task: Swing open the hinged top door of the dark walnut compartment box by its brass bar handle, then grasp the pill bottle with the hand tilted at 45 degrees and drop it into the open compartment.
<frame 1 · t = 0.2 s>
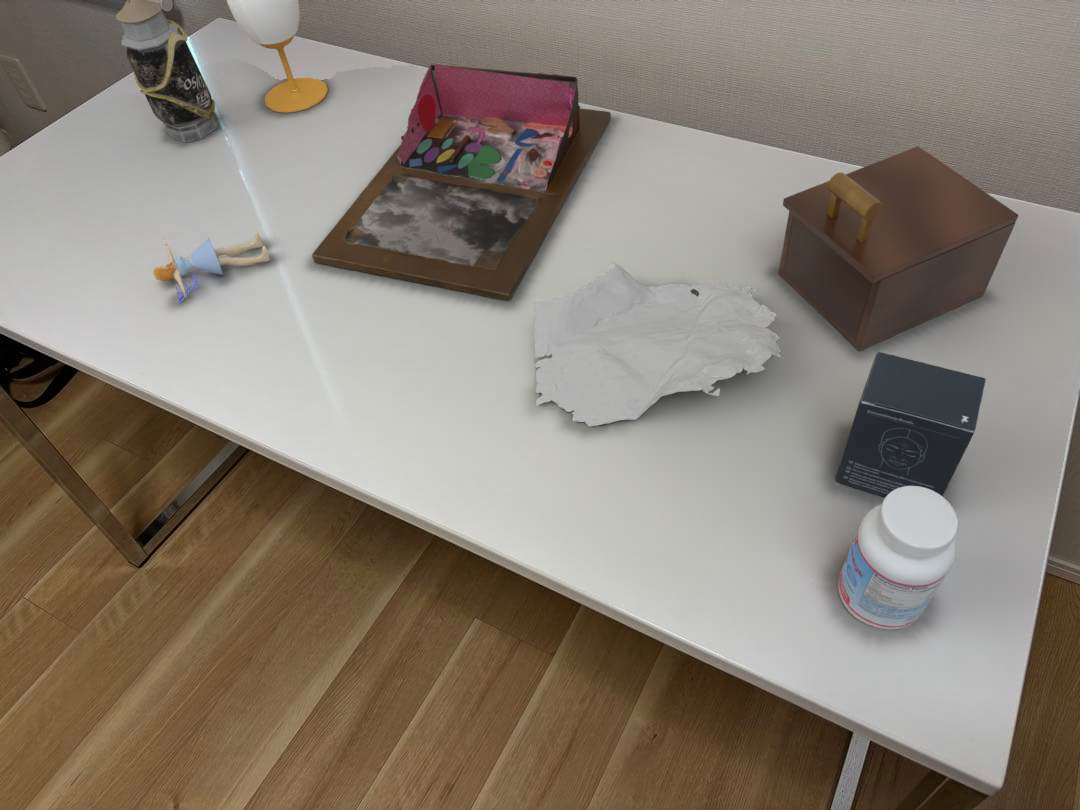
fairy figurine: (217, 274, 92), on the table
pill bottle: (878, 595, 60), on the table
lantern: (194, 130, 112), on the table
chest: (877, 284, 81), on the table
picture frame: (473, 188, 98), on the table
paper: (646, 349, 78), on the table
box: (889, 473, 67), on the table
chest lid: (902, 190, 72), point 11 cm above the table, hinge at 0.0°
cup: (297, 97, 116), on the table
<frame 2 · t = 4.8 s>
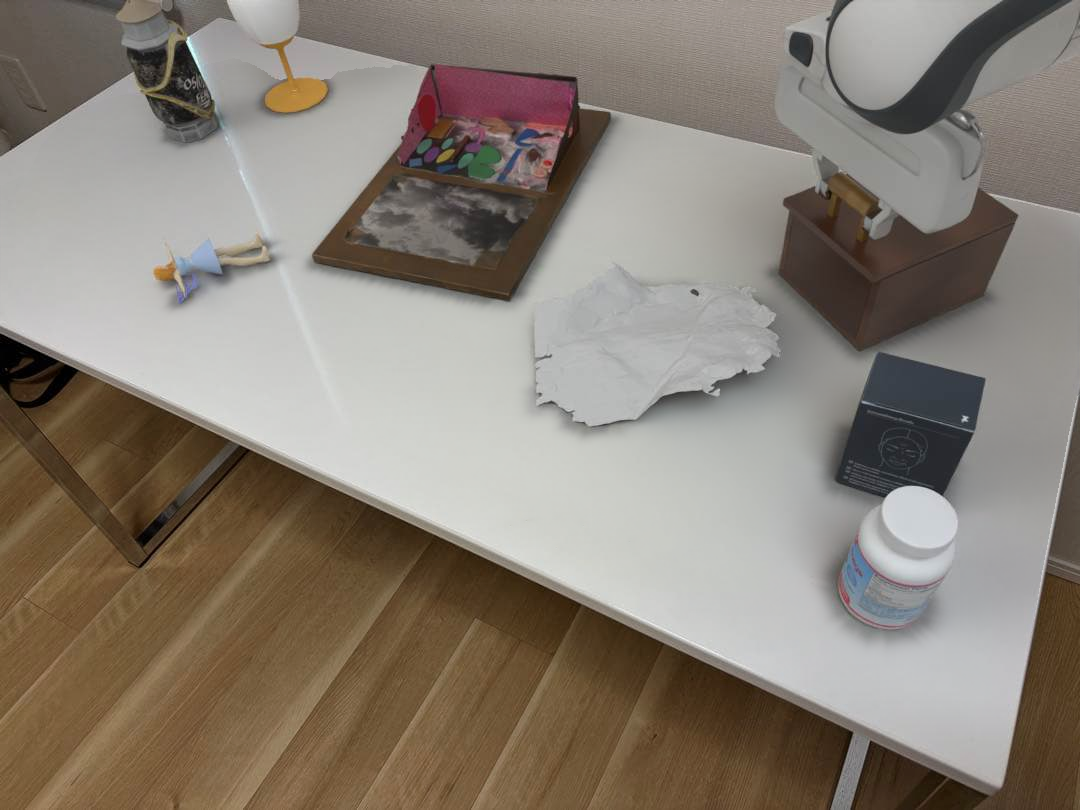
hand: (850, 213, 71), 11 cm above the table, tool pointing down, fingers closed on chest lid, 5 cm apart
chest lid: (902, 190, 72), point 11 cm above the table, hinge at 0.1°, touching gripper
everything else where it was.
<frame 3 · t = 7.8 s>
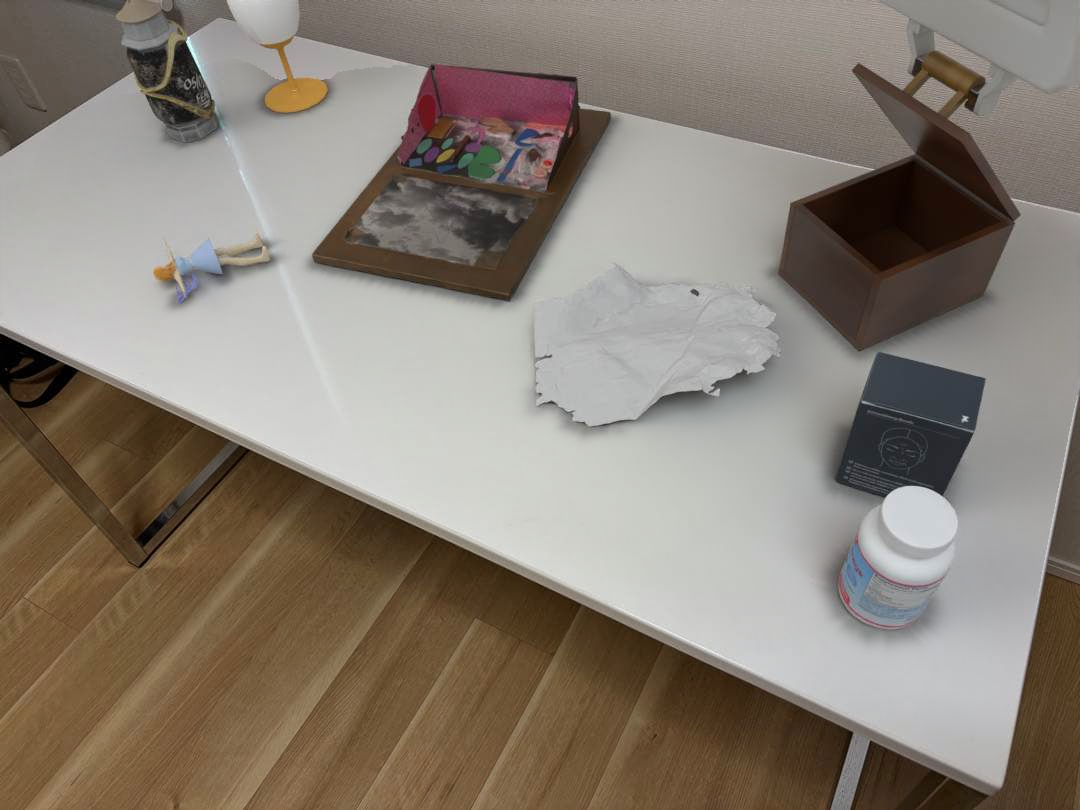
hand: (948, 92, 66), 20 cm above the table, tool pointing down, fingers closed on chest lid, 5 cm apart
chest lid: (957, 124, 69), point 16 cm above the table, hinge at 48.7°, touching gripper
everything else where it was.
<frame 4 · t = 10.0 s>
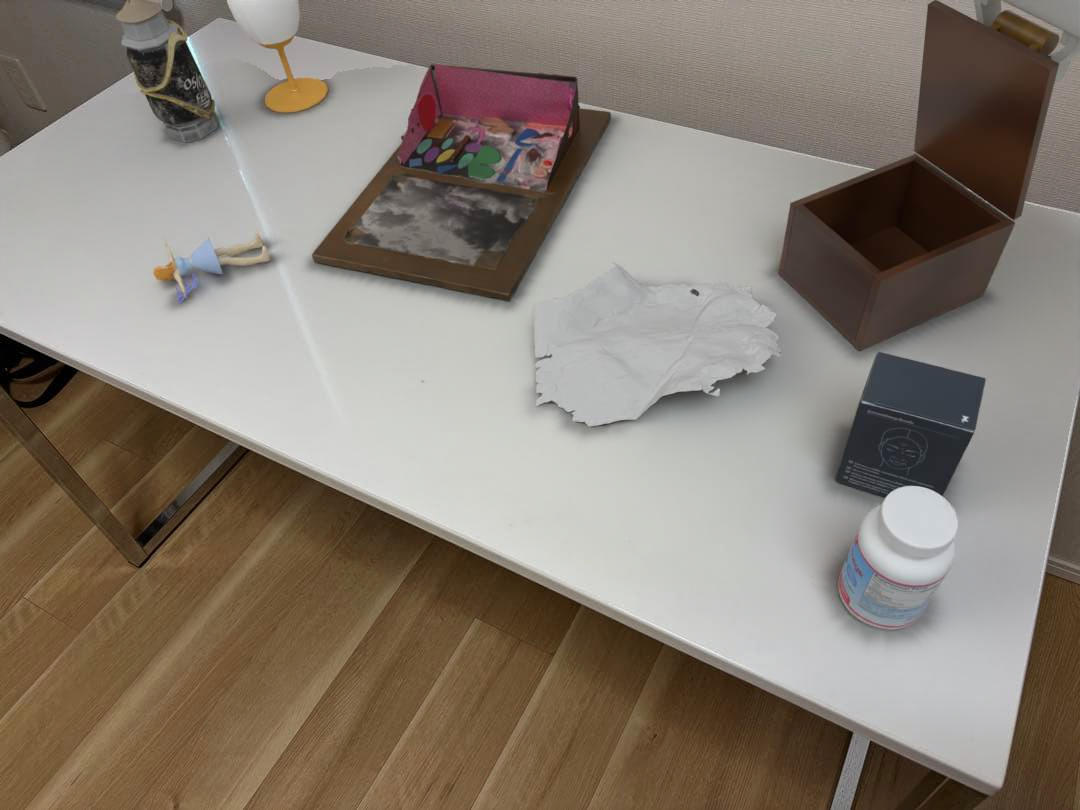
hand: (1015, 62, 67), 20 cm above the table, tool pointing down, fingers closed on chest lid, 5 cm apart
chest lid: (997, 101, 69), point 17 cm above the table, hinge at 77.2°, touching gripper
everything else where it was.
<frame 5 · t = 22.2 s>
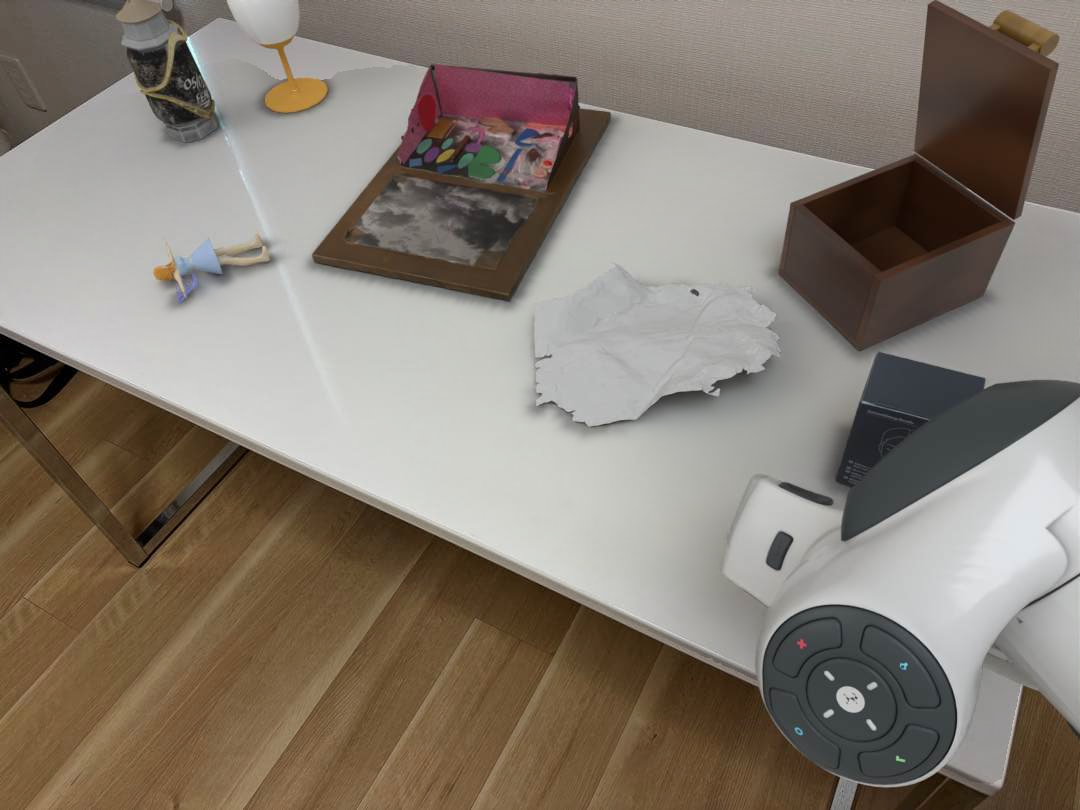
hand: (902, 548, 56), 6 cm above the table, tool tilted 45°, fingers closed on pill bottle, 6 cm apart
pill bottle: (878, 595, 60), on the table, touching gripper
chest lid: (996, 101, 69), point 17 cm above the table, hinge at 77.2°
everything else where it was.
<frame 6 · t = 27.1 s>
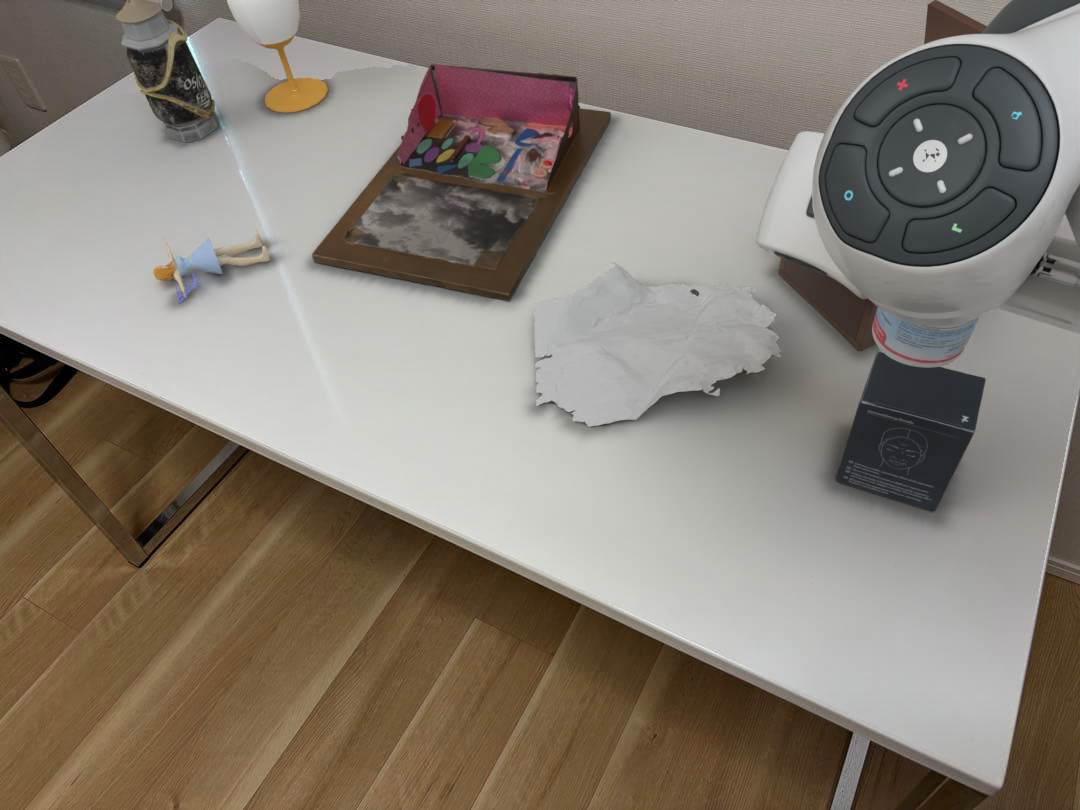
hand: (943, 268, 52), 21 cm above the table, tool tilted 45°, fingers closed on pill bottle, 6 cm apart
pill bottle: (915, 341, 57), point 14 cm above the table, touching gripper
everything else where it was.
when the fingers open (15 cm above the table, at t = 32.0 s): pill bottle drops 8 cm, resting on chest.
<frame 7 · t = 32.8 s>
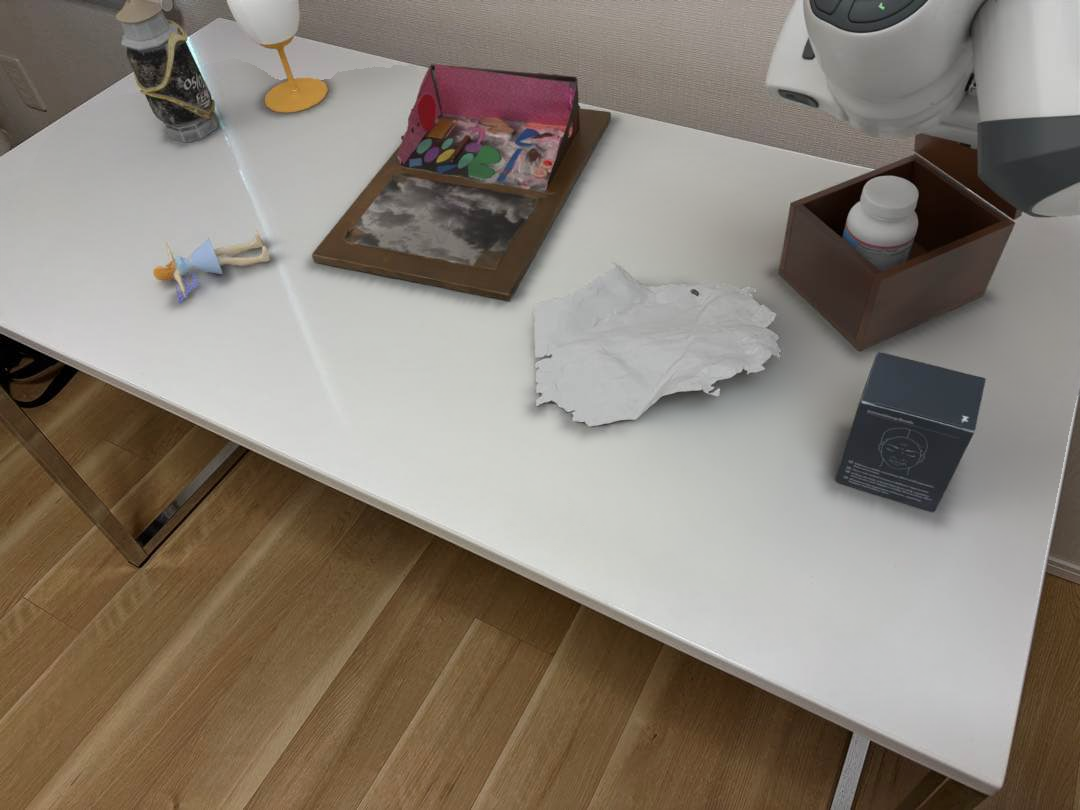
hand: (912, 123, 66), 18 cm above the table, tool tilted 45°, fingers open, 8 cm apart
pill bottle: (863, 287, 80), point 1 cm above the table, touching chest
everything else where it was.
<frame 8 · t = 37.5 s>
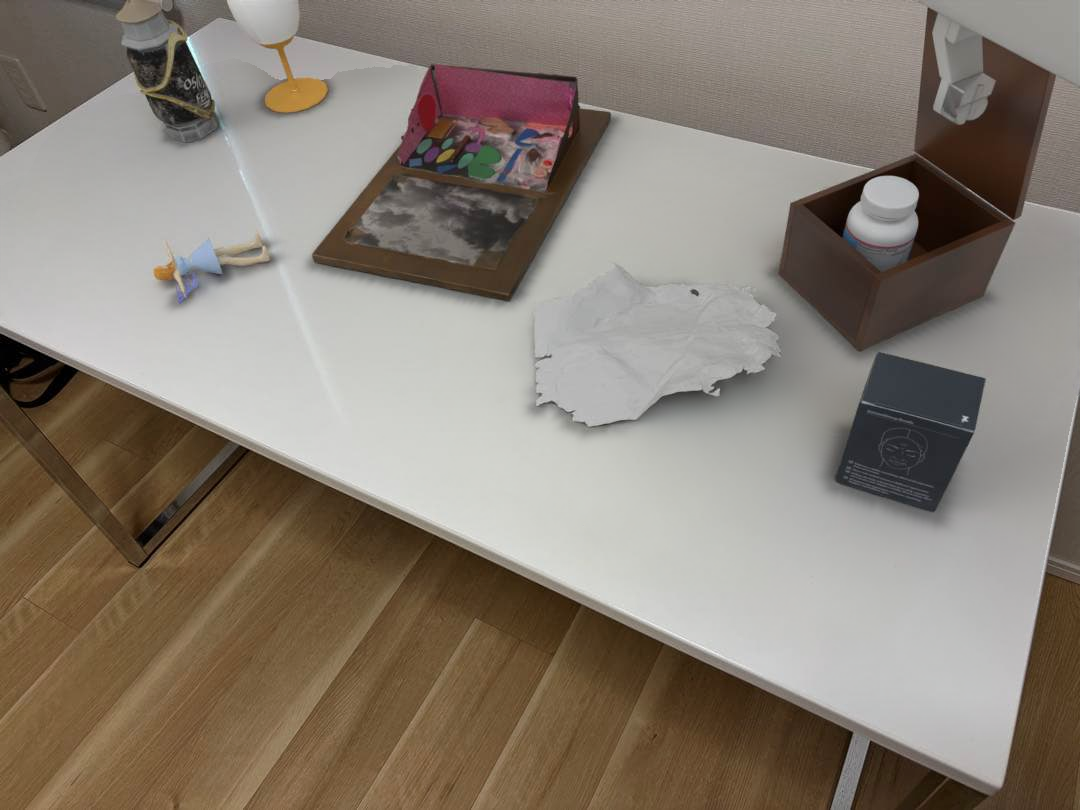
hand: (1036, 164, 35), 35 cm above the table, tool pointing down, fingers open, 8 cm apart
nothing on the table moved.
at the end: chest lid at +77° (first picture: +0°); pill bottle inside the target area in the chest (2.1 cm from its centre), point 0.6 cm above the chest's base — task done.
